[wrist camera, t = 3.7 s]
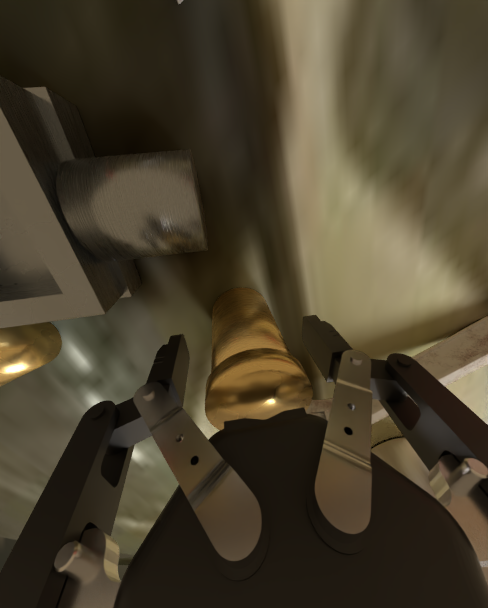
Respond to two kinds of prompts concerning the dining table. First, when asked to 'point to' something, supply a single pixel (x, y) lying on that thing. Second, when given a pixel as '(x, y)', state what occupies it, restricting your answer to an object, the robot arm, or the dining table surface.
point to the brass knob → (251, 363)
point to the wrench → (436, 364)
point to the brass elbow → (27, 349)
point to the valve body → (82, 212)
